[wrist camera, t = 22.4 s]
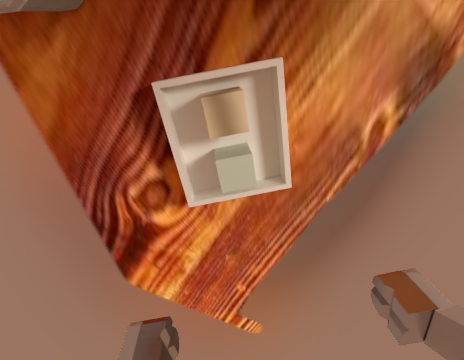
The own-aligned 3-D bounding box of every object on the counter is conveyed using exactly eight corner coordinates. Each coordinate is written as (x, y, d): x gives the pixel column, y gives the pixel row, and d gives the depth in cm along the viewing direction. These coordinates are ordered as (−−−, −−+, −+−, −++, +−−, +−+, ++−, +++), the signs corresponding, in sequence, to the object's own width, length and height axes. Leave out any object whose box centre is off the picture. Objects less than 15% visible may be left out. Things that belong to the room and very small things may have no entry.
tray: (274, 57, 32) (282, 57, 28) (284, 176, 40) (291, 187, 36) (157, 80, 32) (151, 82, 28) (190, 194, 40) (189, 207, 36)
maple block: (238, 86, 32) (243, 89, 28) (244, 122, 34) (249, 131, 30) (202, 93, 32) (201, 98, 28) (210, 129, 34) (210, 139, 30)
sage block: (246, 142, 36) (252, 153, 31) (251, 171, 38) (257, 186, 33) (214, 148, 36) (214, 160, 31) (220, 177, 38) (222, 193, 34)
